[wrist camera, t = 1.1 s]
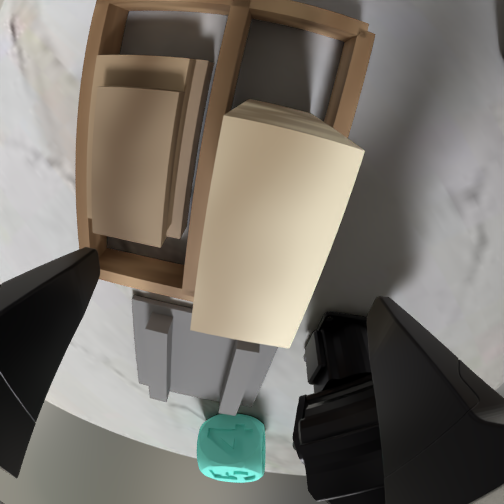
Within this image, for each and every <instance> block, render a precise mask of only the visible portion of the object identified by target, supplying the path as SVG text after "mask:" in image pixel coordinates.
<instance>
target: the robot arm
mask: <svg viewBox="0 0 504 504" xmlns="http://www.w3.org/2000/svg"><path fill="white" fill-rule="evenodd" d="M99 277H100V264H99V256H98V251H97V250H96V249H94V248H89V247H84V248H82V249H79V250H77V251H74V252H72V253H69V254H67V255H65V256H62V257H60V258H58V259H55V260H53V261H51V262H48V263H46V264H44V265H41V266H39V267H37V268H35V269H32V270H30V271H28V272H26V273H23V274H21V275H19V276H17V277H15V278H12V279H10V280H8V281H6V282H4V283H2V284H0V468H1V469H2V470H4V471H5V472H7V473H9V474H10V475H12V476H13V477H15V478H18V475H19V472H20V469H21V465H22V462H23V459H24V456H25V453H26V450H27V446H28V443H29V441H30V438H31V435H32V432H33V429H34V426H35V422H36V420H37V418H38V415H39V413H40V410H41V408H42V405H43V403H44V400H45V398H46V395H47V393H48V390H49V388H50V386H51V383H52V381H53V379H54V376H55V374H56V372H57V370H58V367H59V365H60V363H61V361H62V359H63V356H64V354H65V352H66V350H67V348H68V346H69V344H70V342H71V340H72V338H73V336H74V334H75V332H76V330H77V328H78V326H79V324H80V322H81V320H82V318H83V316H84V314H85V311H86V309H87V306H88V304H89V301H90V299H91V296H92V294H93V291H94V289H95V287H96V284H97V282H98V280H99ZM328 317H331V318H328ZM304 361H305V362H306V366H307V377H308V382H309V384H312V385H314V393H313V394H310V395H303V396H300V397H299V403H298V407H297V413H296V419H295V426H294V432H293V448H294V449H295V450H296V451H297V454H298V457H299V459H300V460H301V462H302V463H303V464H304V465H305V469H306V476H307V485H308V491H309V492H310V494H311V495H312V496H313V498H314V499H315V500H316V501H324V500H325V501H326V502H327V503H328V504H504V398H503V397H502V396H501V395H499V394H498V393H497V392H496V391H495V390H494V389H492V388H491V387H490V386H489V385H488V384H486V383H485V382H484V381H483V380H482V379H481V378H479V377H478V376H477V375H476V374H475V373H474V372H473V371H472V370H470V369H469V368H468V367H467V366H466V365H465V364H464V363H463V362H462V361H461V360H458V358H457V357H456V356H455V355H454V354H453V353H452V352H451V351H450V350H449V349H448V348H447V347H445V346H444V345H443V344H442V343H441V342H440V341H439V340H438V339H437V338H435V337H434V336H433V335H432V334H431V333H430V332H429V331H428V330H427V329H425V328H424V327H423V326H422V325H421V324H420V323H419V322H417V321H416V320H415V319H414V318H413V317H412V316H411V315H409V314H408V313H407V312H406V311H405V310H404V309H402V308H401V307H400V306H399V305H398V304H397V303H395V302H394V301H393V300H392V299H391V298H389V297H384V296H378V297H377V298H376V299H375V301H374V303H373V305H372V307H371V309H370V311H369V313H368V316H367V317H362V316H355V315H349V314H343V313H337V312H327V313H325V314H324V316H323V318H322V320H321V322H320V324H319V326H318V328H317V330H315V331H314V332H313V334H312V336H311V338H310V340H309V342H308V344H307V346H306V348H305V354H304ZM0 504H4V503H3V502H1V501H0Z"/></svg>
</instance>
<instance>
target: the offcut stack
mask: <svg viewBox="0 0 504 504" xmlns="http://www.w3.org/2000/svg"><path fill="white" fill-rule="evenodd" d="M213 66H214V63H213V62H211V61H207V60H199V59H190V58H180V57H168V56H151V55H97V58H96V64H95V71H94V78H93V86H92V94H91V103H90V113H89V126H88V142H87V218H90V219H92V229H93V233H96V234H100V235H105V236H109V237H114V238H118V239H123V240H127V241H132V242H136V243H141V244H145V245H150V246H155V247H159V248H161V246H162V245H163V243H164V241H165V240H166V236H167V237H172V238H177V239H180V238H181V236H182V234H183V232H184V231H185V229H186V227H187V220H188V212H189V204H190V197H191V190H192V183H193V176H194V170H195V163H196V157H197V151H198V145H199V139H200V133H201V127H202V122H203V116H204V111H205V106H206V100H207V95H208V90H209V85H210V81H211V76H212V71H213Z"/></svg>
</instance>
